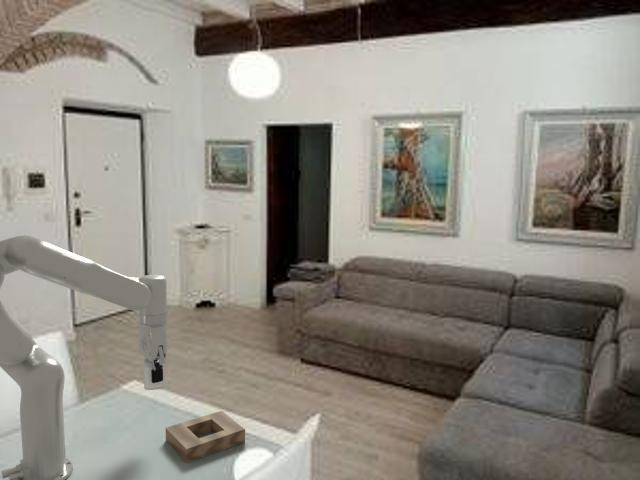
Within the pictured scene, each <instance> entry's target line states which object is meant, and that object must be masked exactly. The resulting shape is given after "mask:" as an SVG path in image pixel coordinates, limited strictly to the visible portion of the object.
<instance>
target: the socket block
mask: <svg viewBox="0 0 640 480" xmlns="http://www.w3.org/2000/svg"><path fill="white" fill-rule="evenodd" d="M209 433H212V434H209ZM207 434H208V435H207ZM203 435H205V436H203ZM199 436H203V437H199ZM165 441H166V443H167V444H168V445H169V446H170V447H171V448H172V449H173V450H174V451H175V452H176V453H177V455H178V456H179V457H180V458H181V459H182V460H184V462H185V463H186V464H188V463H190V462H193V461H196V460H199V459H201V458H205V457H208V456H210V455H213V454H216V453H218V452H221V451H223V450H227V449H229V448H232V447H235V446H237V445H240V444H243V443H246V428H245V427H243V426H242V425H241V424H239V423H238V422H237V421H235V420H234V419H233V418H231V417H230V416H229V415H228V414H227V413H225V412H224V411H223V410H219V411H216V412H213V413H209V414H207V415H203V416H200V417H196V418H194V419H190V420H187V421H183V422H181V423H177V424H174V425H171V426H167V427H165Z"/></svg>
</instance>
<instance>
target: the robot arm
mask: <svg viewBox="0 0 640 480" xmlns="http://www.w3.org/2000/svg"><path fill="white" fill-rule="evenodd" d="M17 271H22V272H23V273H26V274H29V275H31V276H34V277H37V278H40V279H41V280H46V281H48V282H50V283H54V284H56V285H59V286H61V287H65V288H66V289H69V290H72V291H75V292H78V293H80V294H84V295H87V296H92V297H95V298H98V299H101V300H103V301H106V302H109V303H111V304H114V305H117V306H120V307H122V308H125V309H128V310H129V311H130V310H131V311H138V313H139V314H138V317H139V321H138V322H139V330H138V333H139V335H138V352H139V353H140V355H142V356H143V357H144V363H145V362H146V361H148V360H149V361H152V367H153V369H152V370H151V376H152V383H157V382H161V381H163V365H164V366H165V364H166V357H167V354H168V343H167V342H168V341H167V331H166V324H167V323H168V314H167V312H168V310H167V307H168V305H167V302H168V301H167V300H168V299H167V298H168V297H167V279H166V277H165V276H164V275H161V274H145V275H142V276H127V275H123V274H121V273H118V272H116V271H114V270H111V269H109V268H108V267H106V266H103V265H101V264H99V263H97V262H95V261H94V260H91V259H88V258H86V257H84V256H81V255H78V254H76V253H74V252H72V251H69V250H67V249H64V248H62V247H60V246H57V245H55V244H53V243H50V242H47V241H45V240H42V239H40V238H37V237H35V236H34V237H33V236H30V235H27V234H26V235H25V234H24V235H18V236H13V237H10V238H7V239H6V238H5V239H3V240H0V289H1V288H2V286H3V283H4V280H5V275H8V274H12V273H15V272H17ZM157 356H158V358H156V357H157ZM155 361H159V362H157V363H155ZM0 368H1V369H2V370H3V371H4V372H5V373H6V374H7V375H8V376H9V377H10V378H11V379H12V380H13V381H14V382H15V383H16V385H18V386H19V387H20V393H21V394H20V395H21V396H20V404H19V418H20V420H19V421H20V432H21V447H22V448H21V449H22V459H20V460H19V464H16V465H15V466H14V467H12V468H11V467H10V468H7V469H3V470H1V473H0V474H1V478H2V480H3V479H7V478H8V479H9V480H66V479H67V478H68V477H70V475H71V474H72V472H73V468H74V465H73V463H72V461H71V460H69V459H68V458H66V457H67V456H66V439H65V438H66V436H65V420H64V419H65V418H64V417H65V416H64V388H65V380H66V379H65V372H64V371H65V370H64V369H63V366H62V364H61V363H60V362H59V361H58V360H57V359H56V358H55V357H54V356H52V355H50V354H49V353H48V352H46V351H45V350H44V349H43V348H41V346H40V345H38V344H37V342H36V341H35V340H34V339H33V337H32V334H31V333H30V331H29V330H28V329H27V328H26V326H24V324H23V325H22V323H20V322H19V321H18V320H17V319H16V318H15V317H14V315H12V313H11V312H10V311H9V309H7V308H6V306H5V305H4V304H3V303H2V301H1V300H0Z"/></svg>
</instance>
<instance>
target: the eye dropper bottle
mask: <svg viewBox="0 0 640 480" xmlns="http://www.w3.org/2000/svg"><path fill="white" fill-rule="evenodd" d="M156 358H158V356H157V357H156ZM157 362H159V361H155V363H157ZM152 369H153V367H152V361H149V360H148V361H146V362H145V361H144V363H143V383H144V384H143V388H144V390H147V391H155V390H161V389H163V388H165V364H164V365H163V381H161V382H157V383H152V376H151V370H152Z"/></svg>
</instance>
